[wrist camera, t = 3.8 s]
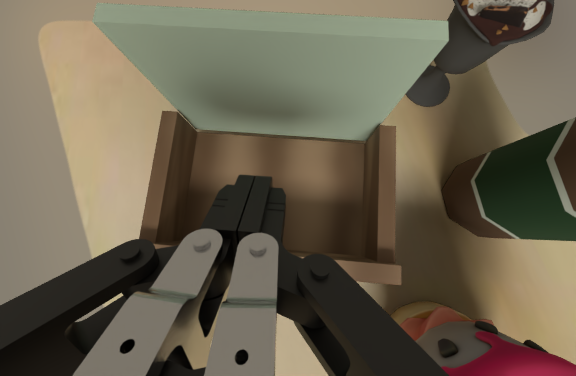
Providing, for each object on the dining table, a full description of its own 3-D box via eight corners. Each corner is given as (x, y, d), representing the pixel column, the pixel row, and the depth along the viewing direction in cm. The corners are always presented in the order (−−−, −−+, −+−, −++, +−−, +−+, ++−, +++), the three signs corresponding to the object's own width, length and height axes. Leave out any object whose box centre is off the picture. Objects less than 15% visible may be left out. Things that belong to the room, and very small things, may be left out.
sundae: (434, 48, 27) (602, -167, 12) (468, 98, 26) (697, -75, 11) (383, 73, 27) (493, -120, 12) (415, 124, 26) (579, -19, 11)
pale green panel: (366, 124, 23) (447, 5, 11) (365, 142, 23) (448, 40, 11) (200, 113, 24) (100, -12, 11) (197, 130, 23) (92, 21, 11)
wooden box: (367, 154, 25) (401, 120, 17) (364, 266, 23) (401, 285, 15) (197, 142, 26) (155, 104, 18) (180, 250, 24) (125, 260, 16)
